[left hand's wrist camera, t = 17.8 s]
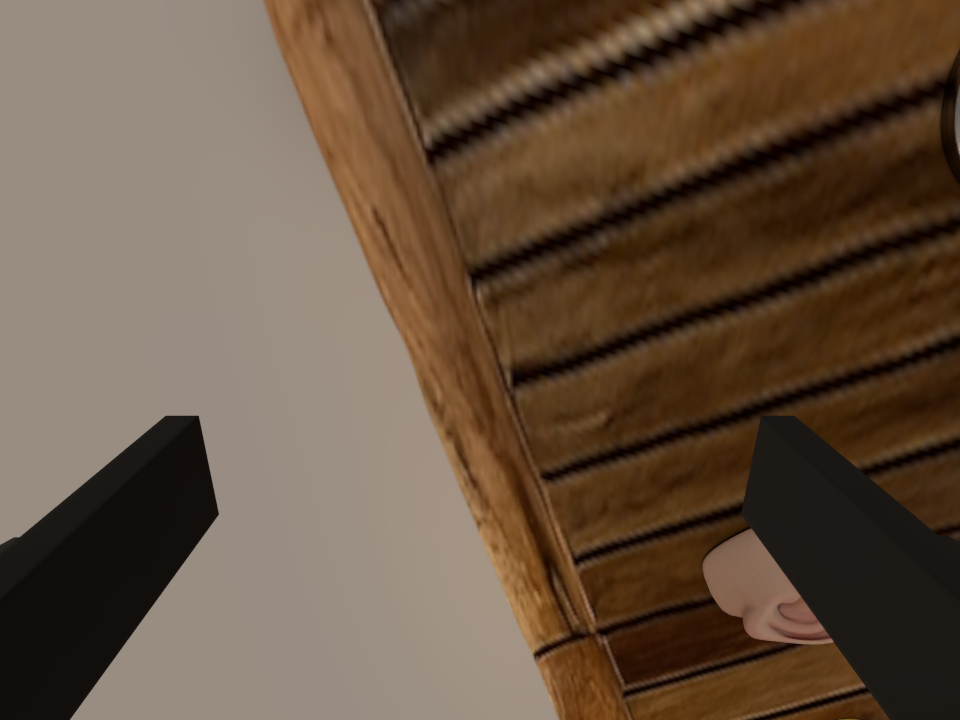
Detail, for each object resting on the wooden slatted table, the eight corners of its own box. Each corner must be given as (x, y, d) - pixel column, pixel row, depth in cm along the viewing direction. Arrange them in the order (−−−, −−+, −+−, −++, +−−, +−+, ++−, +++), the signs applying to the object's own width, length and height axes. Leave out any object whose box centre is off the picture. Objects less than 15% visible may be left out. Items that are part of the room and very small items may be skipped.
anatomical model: (695, 614, 43) (810, 520, 40) (678, 577, 47) (782, 488, 43) (804, 689, 46) (919, 607, 43) (780, 649, 49) (884, 570, 46)
